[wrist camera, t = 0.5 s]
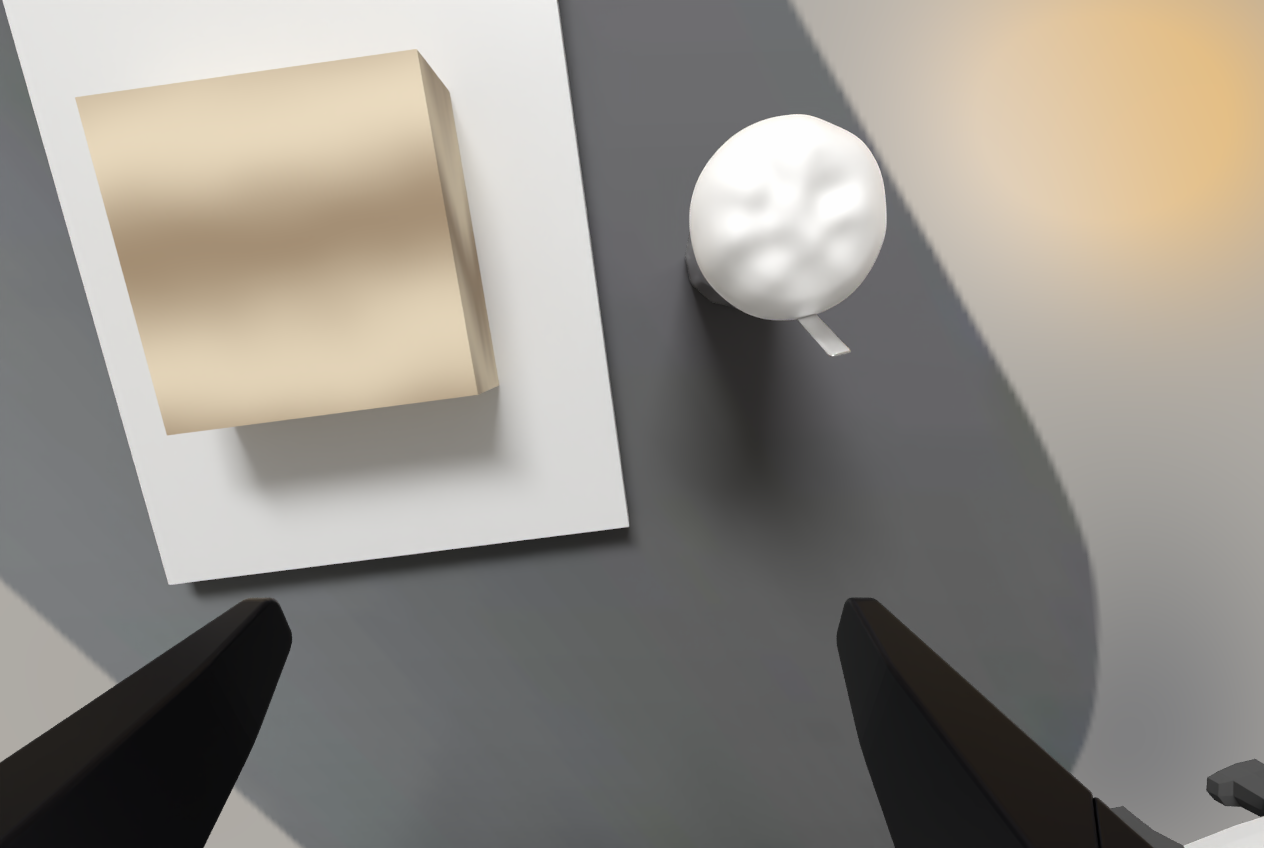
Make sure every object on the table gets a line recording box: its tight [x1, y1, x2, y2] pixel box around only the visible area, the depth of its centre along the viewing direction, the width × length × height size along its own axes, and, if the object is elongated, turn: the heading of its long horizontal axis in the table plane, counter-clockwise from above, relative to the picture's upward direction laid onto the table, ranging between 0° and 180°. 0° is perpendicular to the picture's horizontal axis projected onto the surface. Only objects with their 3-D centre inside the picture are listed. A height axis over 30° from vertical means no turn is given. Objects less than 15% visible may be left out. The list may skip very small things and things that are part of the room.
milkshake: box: [685, 114, 886, 357], centre depth 16 cm, size 4×5×10 cm
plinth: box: [75, 49, 499, 435], centre depth 19 cm, size 10×10×3 cm
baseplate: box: [3, 0, 629, 585], centre depth 21 cm, size 22×18×1 cm
